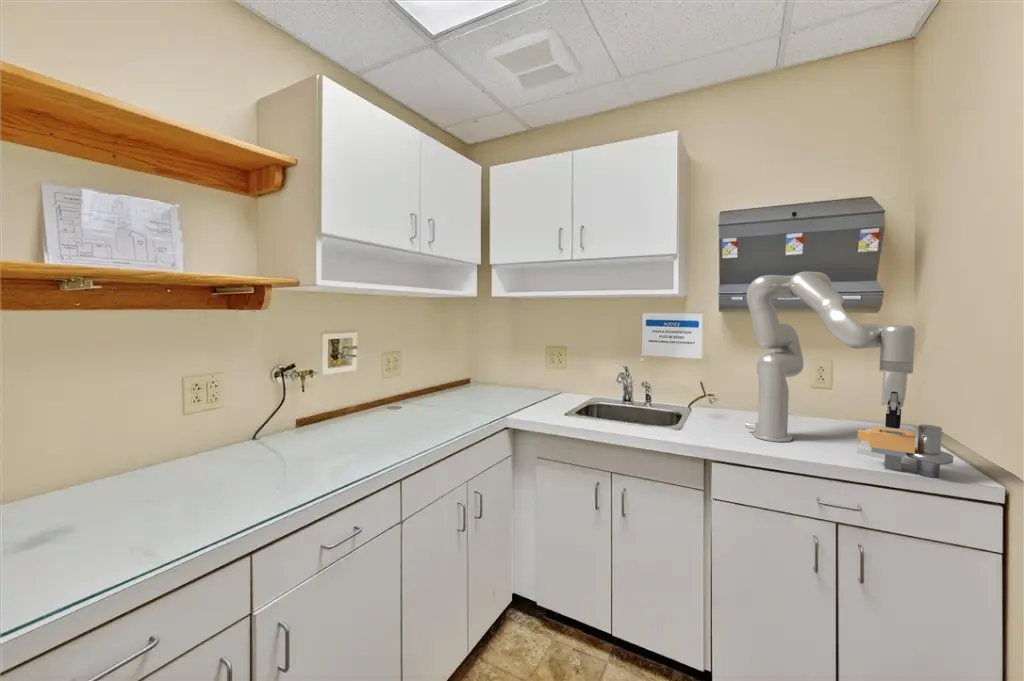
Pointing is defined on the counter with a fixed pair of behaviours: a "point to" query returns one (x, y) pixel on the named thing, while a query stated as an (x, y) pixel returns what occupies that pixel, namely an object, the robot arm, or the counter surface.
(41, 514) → the counter surface
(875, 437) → the bracket
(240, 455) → the counter surface
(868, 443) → the white curved casing
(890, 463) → the grey rectangular bar
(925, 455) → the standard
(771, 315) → the robot arm
